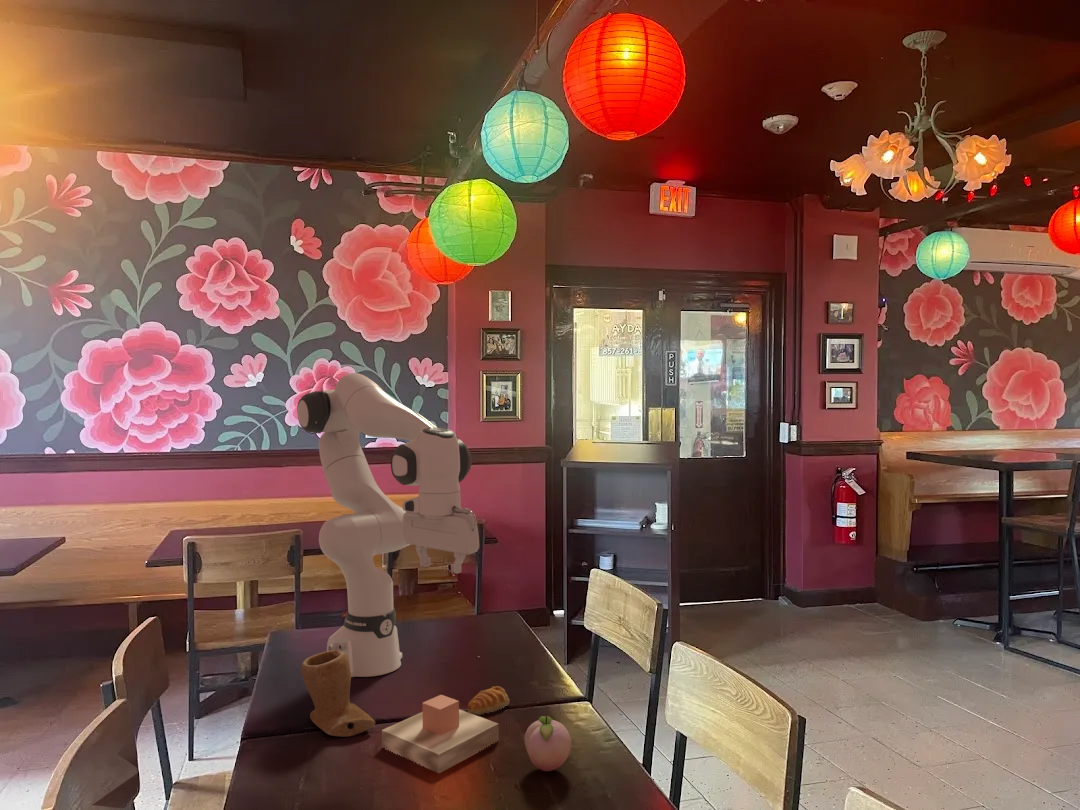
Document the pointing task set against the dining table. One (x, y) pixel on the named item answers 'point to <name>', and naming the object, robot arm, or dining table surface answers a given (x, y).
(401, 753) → the birch base
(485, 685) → the dining table surface
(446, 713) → the terracotta block
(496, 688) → the pastry
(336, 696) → the cork boot vase
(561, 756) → the decorative fruit
